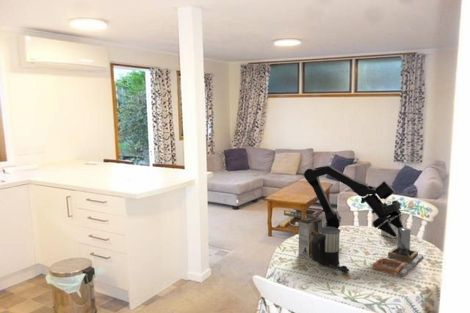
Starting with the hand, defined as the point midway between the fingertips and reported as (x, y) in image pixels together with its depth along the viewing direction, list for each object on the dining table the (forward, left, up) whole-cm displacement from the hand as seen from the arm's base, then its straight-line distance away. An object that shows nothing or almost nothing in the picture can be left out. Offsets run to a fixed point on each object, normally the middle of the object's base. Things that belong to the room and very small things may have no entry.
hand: (400, 233), depth 164 cm
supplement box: (+11, +26, -10) cm, 30 cm away
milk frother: (-34, -8, -10) cm, 36 cm away
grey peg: (+1, -1, -10) cm, 10 cm away
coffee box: (-39, +8, -10) cm, 41 cm away
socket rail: (-5, -8, -10) cm, 14 cm away
